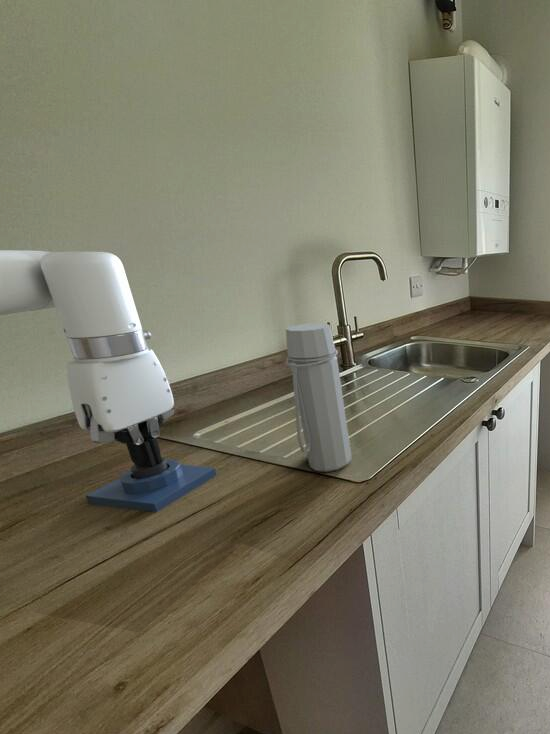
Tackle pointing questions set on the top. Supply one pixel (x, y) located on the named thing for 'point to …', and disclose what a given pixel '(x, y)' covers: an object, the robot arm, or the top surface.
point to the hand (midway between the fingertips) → (149, 463)
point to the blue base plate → (152, 488)
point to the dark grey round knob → (148, 470)
